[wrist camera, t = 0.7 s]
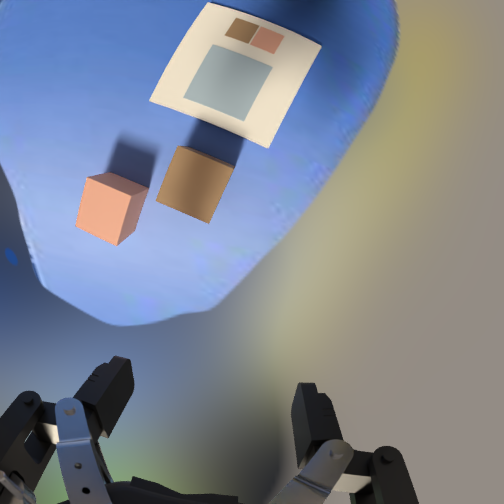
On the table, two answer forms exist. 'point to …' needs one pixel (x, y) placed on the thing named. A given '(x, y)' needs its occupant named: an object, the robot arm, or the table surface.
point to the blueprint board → (236, 72)
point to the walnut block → (194, 183)
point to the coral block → (110, 207)
